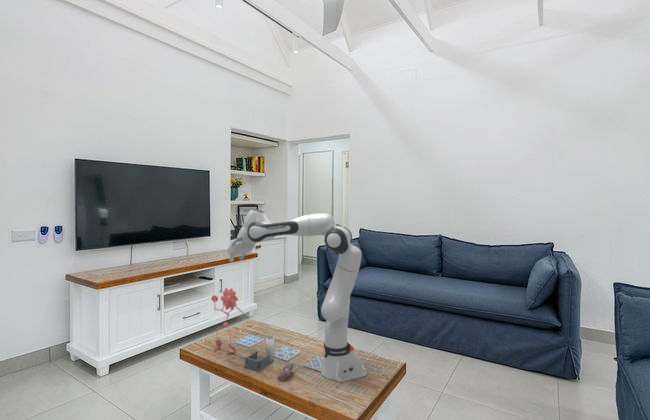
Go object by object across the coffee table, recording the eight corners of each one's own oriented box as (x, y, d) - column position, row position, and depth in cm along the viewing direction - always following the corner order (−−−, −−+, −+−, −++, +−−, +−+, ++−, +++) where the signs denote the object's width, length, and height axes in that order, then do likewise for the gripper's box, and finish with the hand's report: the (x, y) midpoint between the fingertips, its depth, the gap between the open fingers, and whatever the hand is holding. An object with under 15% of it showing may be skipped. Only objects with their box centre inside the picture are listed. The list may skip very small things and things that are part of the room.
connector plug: (273, 354, 177) (274, 332, 177) (274, 357, 173) (274, 335, 173) (265, 354, 176) (265, 333, 176) (266, 358, 172) (266, 336, 172)
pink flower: (235, 360, 169) (237, 293, 170) (203, 348, 183) (204, 287, 183) (256, 350, 183) (257, 288, 183) (224, 339, 196) (225, 282, 196)
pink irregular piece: (284, 385, 150) (290, 372, 149) (276, 379, 151) (282, 367, 150) (290, 374, 160) (296, 362, 159) (282, 369, 160) (289, 357, 160)
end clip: (258, 357, 173) (258, 348, 173) (273, 361, 169) (273, 352, 169) (243, 367, 163) (244, 358, 162) (259, 371, 158) (259, 362, 158)
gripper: (240, 241, 161) (229, 265, 162) (260, 238, 180) (250, 260, 182) (230, 235, 162) (219, 259, 164) (251, 233, 182) (241, 255, 183)
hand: (235, 260), depth 173 cm, fingers open, 8 cm apart
